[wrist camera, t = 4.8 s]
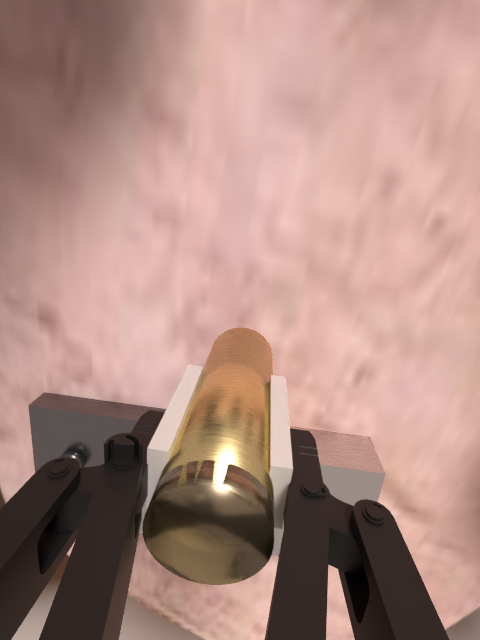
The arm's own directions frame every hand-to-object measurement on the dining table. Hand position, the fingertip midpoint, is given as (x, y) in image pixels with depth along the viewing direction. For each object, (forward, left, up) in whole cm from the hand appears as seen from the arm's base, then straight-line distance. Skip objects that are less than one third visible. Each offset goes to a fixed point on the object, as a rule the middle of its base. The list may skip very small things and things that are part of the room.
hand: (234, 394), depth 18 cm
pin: (0, 0, -5) cm, 5 cm away
